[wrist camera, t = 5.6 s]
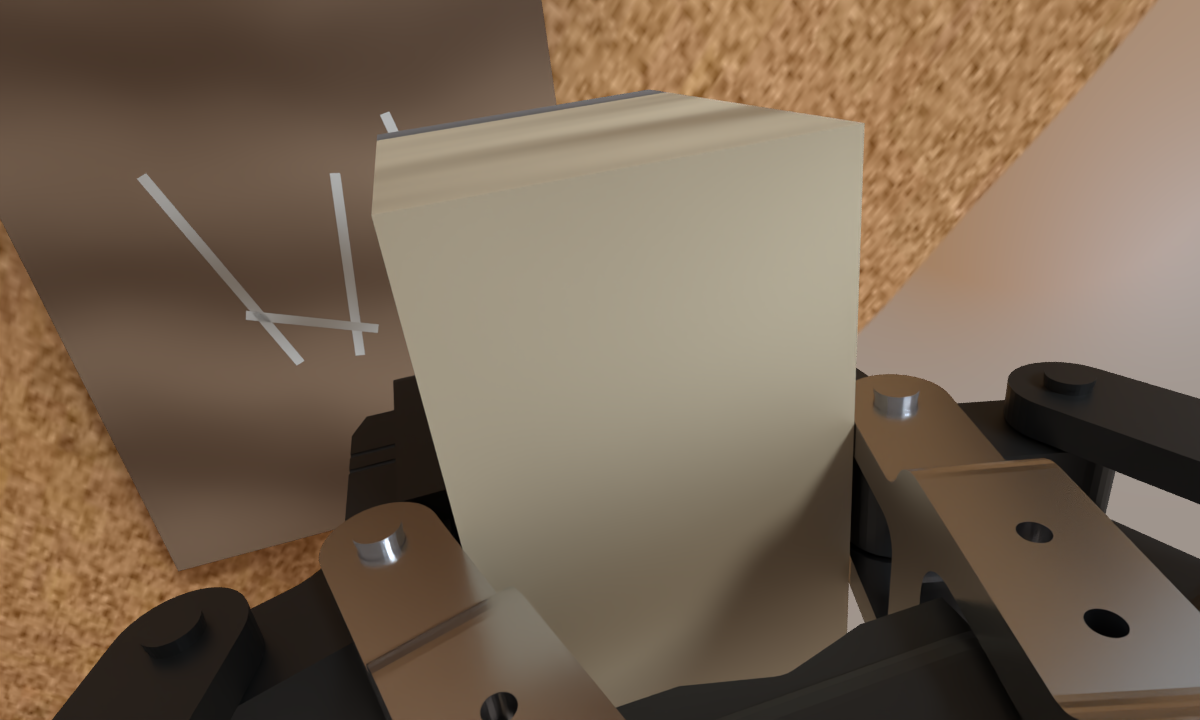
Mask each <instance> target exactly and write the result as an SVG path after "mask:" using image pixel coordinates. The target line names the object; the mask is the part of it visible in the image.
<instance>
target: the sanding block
mask: <svg viewBox="0 0 1200 720" xmlns="http://www.w3.org/2000/svg"><path fill="white" fill-rule="evenodd" d="M863 149H864V123H861V122H854V121H848V120H841V119H835V118H828V117H822V116H816V115H809V114H803V113H796V112H790V111H783V110H777V109H771V108H764V107H758V106H751V105H745V104H738V103H732V102H726V101H719V100H713V99H706V98H700V97H693V96H687V95H681V94H674V93H668V92H661V91H655V90H644V91H638V92H632V93H626V94H620V95H614V96H608V97H602V98H596V99H590V100H584V101H578V102H572V103H566V104H560V105H554V106H548V107H542V108H536V109H530V110H524V111H518V112H511V113H505V114H499V115H493V116H487V117H481V118H475V119H469V120H463V121H457V122H451V123H445V124H439V125H433V126H427V127H421V128H415V129H409V130H403V131H397V132H391V133H385V134H379V135H377V144H376V158H375V172H374V186H373V200H372V214H371V216H372V219H373V223H374V227H375V230H376V234H377V238H378V241H379V245H380V249H381V252H382V256H383V260H384V263H385V267H386V271H387V274H388V278H389V282H390V285H391V289H392V293H393V296H394V300H395V304H396V307H397V311H398V315H399V318H400V322H401V326H402V329H403V333H404V336H405V340H406V344H407V347H408V351H409V355H410V358H411V362H412V366H413V369H414V373H415V377H416V380H417V384H418V388H419V391H420V395H421V399H422V402H423V406H424V410H425V413H426V417H427V421H428V424H429V428H430V432H431V435H432V439H433V443H434V446H435V450H436V454H437V457H438V461H439V465H440V468H441V472H442V476H443V479H444V483H445V487H446V490H447V494H448V498H449V501H450V505H451V509H452V512H453V516H454V520H455V523H456V527H457V531H458V534H459V538H460V542H461V545H462V549H463V550H464V551H465V553H466V554H467V555H468V557H469V558H470V559H471V561H472V562H473V563H474V564H475V566H476V567H477V568H478V570H479V571H480V572H481V573H482V575H483V576H484V577H485V579H486V580H487V581H488V583H489V584H490V585H491V586H492V588H493V589H494V590H495V592H496V593H498V592H499V591H501V590H503V589H505V588H507V587H509V586H513V587H515V588H516V589H517V590H518V591H520V592H521V593H522V595H523V596H524V597H525V598H526V599H527V600H528V602H529V603H530V604H531V605H532V606H533V608H534V609H535V610H536V611H537V613H538V614H539V615H540V616H541V617H542V619H543V620H544V621H545V622H546V624H547V625H548V626H549V627H550V628H551V630H552V631H553V632H554V633H555V634H556V636H557V637H558V638H559V639H560V641H561V642H562V643H563V644H564V645H565V647H566V648H567V649H568V650H569V652H570V653H571V654H572V655H573V656H574V658H575V659H576V660H577V661H578V662H579V664H580V665H581V666H582V667H583V669H584V670H585V671H586V672H587V673H588V675H589V676H590V677H591V678H592V680H593V681H594V682H595V683H596V684H597V686H598V687H599V688H600V689H601V690H602V692H603V693H604V694H605V695H606V697H607V698H608V699H609V700H610V701H611V703H612V704H613V705H614V706H615V708H616V707H619V706H622V705H625V704H628V703H631V702H634V701H636V700H639V699H642V698H645V697H648V696H651V695H654V694H657V693H660V692H663V691H666V690H669V689H672V688H675V687H678V686H686V685H696V684H706V683H716V682H726V681H736V680H746V679H756V678H766V677H775V676H781V675H784V674H787V673H789V672H791V671H792V670H794V669H796V668H797V667H798V666H800V665H801V664H803V663H804V662H806V661H807V660H809V659H810V658H812V657H813V656H815V655H816V654H818V653H819V652H821V651H822V650H823V649H825V648H826V647H828V646H829V645H831V644H832V643H834V642H835V641H837V640H838V639H840V638H841V637H843V636H844V635H845V634H847V617H848V615H847V614H848V588H849V559H850V530H851V500H852V471H853V442H854V413H855V383H856V354H857V325H858V295H859V266H860V237H861V208H862V178H863Z"/></svg>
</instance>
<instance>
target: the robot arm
mask: <svg viewBox="0 0 1200 720" xmlns="http://www.w3.org/2000/svg"><path fill="white" fill-rule="evenodd" d="M393 393H394V410H392V411H388V412H384V413H380V414H376V415H371V416H367V417H366V418H365V419H364V421H363V422H362V423H361V425H360V426H359V427H358V428H357V430H356V431H355V432H354V434H353V435H352V440H351V452H350V455H351V458H350V464H349V472H350V474H349V477H348V489H347V501H346V514H345V522H343V523H342V524H341V525H339V526H338V527H337V528H336V529H335V530H334V531H333V532H332V533H331V534H330V535H329V536H328V537H327V539H326V540H325V542H324V543H323V545H322V547H321V550H320V553H319V562H320V566H321V569H320V570H319V571H318V572H316V573H315V574H314V575H313V576H311V577H310V578H308V579H307V580H305V581H304V582H302V583H301V584H299V585H297V586H295V587H294V588H292V589H290V590H288V591H286V592H284V593H282V594H280V595H278V596H276V597H274V598H272V599H270V600H268V601H266V602H264V603H262V604H260V605H258V606H256V607H254V608H252V609H250V606H249V604H248V602H247V600H246V599H245V597H244V596H243V595H242V594H241V593H239V592H238V591H236V590H233V589H230V588H222V587H214V588H205V589H199V590H195V591H192V592H188V593H185V594H182V595H180V596H177V597H175V598H172V599H170V600H168V601H166V602H164V603H162V604H160V605H158V606H157V607H155V608H153V609H151V610H150V611H148V612H147V613H145V614H144V615H142V616H141V617H139V618H138V619H137V620H136V621H134V622H133V623H132V624H131V625H129V626H128V627H127V628H126V629H125V630H124V631H123V632H122V633H121V634H120V635H119V636H118V637H117V638H116V640H115V641H114V642H113V643H112V644H111V646H110V647H109V648H108V649H107V651H106V652H105V653H104V654H103V656H102V657H101V658H100V660H99V661H98V662H97V663H96V665H95V666H94V667H93V668H92V670H91V671H90V672H89V674H88V675H87V676H86V677H85V679H84V680H83V681H82V682H81V684H80V685H79V686H78V688H77V689H76V690H75V691H74V693H73V694H72V695H71V696H70V698H69V699H68V700H67V702H66V703H65V704H64V705H63V707H62V708H61V709H60V710H59V712H58V713H57V714H56V715H55V717H54V718H53V719H52V720H1200V559H1199V558H1196V557H1194V556H1192V555H1190V554H1187V553H1185V552H1183V551H1181V550H1178V549H1176V548H1173V547H1172V546H1169V545H1167V544H1165V543H1163V542H1160V541H1158V540H1156V539H1154V538H1151V537H1149V536H1147V535H1145V534H1142V533H1140V532H1138V531H1136V530H1133V529H1131V528H1129V527H1126V526H1124V525H1122V524H1120V523H1118V522H1115V521H1113V520H1111V519H1109V518H1108V516H1107V515H1106V509H1107V505H1108V501H1109V496H1110V492H1111V488H1112V483H1113V479H1114V475H1115V471H1117V472H1119V473H1122V474H1124V475H1127V476H1129V477H1132V478H1134V479H1137V480H1139V481H1142V482H1145V483H1147V484H1149V485H1152V486H1155V487H1157V488H1160V489H1162V490H1165V491H1167V492H1170V493H1172V494H1175V495H1177V496H1180V497H1183V498H1185V499H1188V500H1190V501H1193V502H1195V503H1198V504H1200V399H1198V398H1195V397H1192V396H1188V395H1185V394H1181V393H1178V392H1175V391H1171V390H1168V389H1165V388H1161V387H1158V386H1154V385H1150V384H1148V383H1144V382H1141V381H1137V380H1134V379H1131V378H1127V377H1124V376H1121V375H1117V374H1114V373H1110V372H1107V371H1103V370H1100V369H1097V368H1093V367H1089V366H1085V365H1079V364H1073V363H1064V362H1042V363H1034V364H1028V365H1025V366H1021V367H1020V368H1017V369H1015V370H1014V371H1013V372H1011V374H1010V375H1009V378H1008V383H1007V390H1006V397H1005V400H1000V401H987V402H971V403H956V402H955V401H954V400H953V398H952V397H951V396H950V395H949V394H948V393H947V392H946V391H945V390H944V389H943V388H941V387H940V386H938V385H936V384H934V383H932V382H930V381H927V380H924V379H921V378H917V377H912V376H907V375H897V374H896V375H895V374H885V375H874V376H867V375H866V374H864V373H863V372H861V371H860V370H859V369H857V368H856V383H855V413H854V442H853V471H852V500H851V530H850V559H849V584H850V586H851V589H852V591H853V594H854V596H855V599H856V602H857V604H858V606H859V609H860V612H861V614H862V617H863V619H864V622H865V623H863V624H860V625H859V626H857V627H856V628H854V629H853V630H851V631H850V632H848V633H847V634H845V635H844V636H843V637H841V638H840V639H838V640H837V641H835V642H834V643H832V644H831V645H829V646H828V647H826V648H825V649H823V650H822V651H821V652H819V653H818V654H816V655H815V656H813V657H812V658H810V659H809V660H807V661H806V662H804V663H803V664H801V665H800V666H798V667H797V668H796V669H794V670H792V671H791V672H789V673H787V674H784V675H781V676H775V677H766V678H756V679H746V680H736V681H726V682H716V683H706V684H696V685H686V686H678V687H675V688H672V689H669V690H666V691H663V692H660V693H657V694H654V695H651V696H648V697H645V698H642V699H639V700H636V701H634V702H631V703H628V704H625V705H622V706H619V707H616V708H615V706H614V705H613V704H612V703H611V701H610V700H609V699H608V698H607V697H606V695H605V694H604V693H603V692H602V690H601V689H600V688H599V687H598V686H597V684H596V683H595V682H594V681H593V680H592V678H591V677H590V676H589V675H588V673H587V672H586V671H585V670H584V669H583V667H582V666H581V665H580V664H579V662H578V661H577V660H576V659H575V658H574V656H573V655H572V654H571V653H570V652H569V650H568V649H567V648H566V647H565V645H564V644H563V643H562V642H561V641H560V639H559V638H558V637H557V636H556V634H555V633H554V632H553V631H552V630H551V628H550V627H549V626H548V625H547V624H546V622H545V621H544V620H543V619H542V617H541V616H540V615H539V614H538V613H537V611H536V610H535V609H534V608H533V606H532V605H531V604H530V603H529V602H528V600H527V599H526V598H525V597H524V596H523V595H522V593H521V592H520V591H518V590H517V589H516V588H515V587H513V586H509V587H507V588H505V589H503V590H501V591H499V592H498V593H496V592H495V590H494V589H493V588H492V586H491V585H490V584H489V583H488V581H487V580H486V579H485V577H484V576H483V575H482V573H481V572H480V571H479V570H478V568H477V567H476V566H475V564H474V563H473V562H472V561H471V559H470V558H469V557H468V555H467V554H466V553H465V551H464V550H463V549H462V545H461V542H460V538H459V534H458V531H457V527H456V523H455V520H454V516H453V512H452V509H451V505H450V501H449V498H448V494H447V490H446V487H445V483H444V479H443V476H442V472H441V468H440V465H439V461H438V457H437V454H436V450H435V446H434V443H433V439H432V435H431V432H430V428H429V424H428V421H427V417H426V413H425V410H424V406H423V402H422V399H421V395H420V391H419V388H418V384H417V380H416V377H415V375H413V376H409V377H405V378H400V379H396V380H393Z"/></svg>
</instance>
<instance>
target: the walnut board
mask: <svg viewBox="0 0 1200 720" xmlns="http://www.w3.org/2000/svg"><path fill="white" fill-rule="evenodd" d="M554 105H556V98H555V91H554V85H553V78H552V71H551V64H550V57H549V50H548V43H547V36H546V29H545V22H544V16H543V9H542V2H541V0H0V219H1V221H2V223H3V225H4V227H5V229H6V231H7V233H8V235H9V237H10V239H11V241H12V243H13V245H14V247H15V249H16V251H17V253H18V255H19V257H20V259H21V261H22V263H23V264H24V266H25V268H26V270H27V272H28V274H29V276H30V278H31V280H32V282H33V284H34V286H35V288H36V290H37V292H38V294H39V296H40V298H41V300H42V302H43V304H44V306H45V308H46V310H47V312H48V314H49V316H50V318H51V320H52V322H53V324H54V326H55V328H56V330H57V332H58V334H59V336H60V338H61V340H62V342H63V344H64V346H65V348H66V350H67V352H68V354H69V356H70V358H71V360H72V362H73V363H74V365H75V367H76V369H77V371H78V373H79V375H80V377H81V379H82V381H83V383H84V385H85V387H86V389H87V391H88V393H89V395H90V397H91V399H92V401H93V403H94V405H95V407H96V409H97V411H98V413H99V415H100V417H101V419H102V421H103V423H104V425H105V427H106V429H107V431H108V433H109V435H110V437H111V439H112V441H113V443H114V445H115V447H116V449H117V451H118V453H119V455H120V457H121V459H122V461H123V463H124V464H125V466H126V468H127V470H128V472H129V474H130V476H131V478H132V480H133V482H134V484H135V486H136V488H137V490H138V492H139V494H140V496H141V498H142V500H143V502H144V504H145V506H146V508H147V510H148V512H149V514H150V516H151V518H152V520H153V522H154V524H155V526H156V528H157V530H158V532H159V534H160V536H161V538H162V540H163V542H164V544H165V546H166V548H167V550H168V552H169V554H170V556H171V558H172V560H173V562H174V564H175V565H176V567H177V569H178V571H181V570H185V569H188V568H192V567H196V566H200V565H203V564H207V563H211V562H215V561H218V560H222V559H226V558H230V557H233V556H237V555H241V554H245V553H248V552H252V551H256V550H260V549H263V548H267V547H271V546H275V545H278V544H282V543H286V542H290V541H293V540H297V539H301V538H305V537H308V536H312V535H316V534H320V533H323V532H327V531H331V530H335V529H336V528H337V527H338V526H339V525H341V524H342V523H343V522H345V514H346V501H347V489H348V477H349V474H350V472H349V464H350V458H351V455H350V452H351V440H352V435H353V434H354V432H355V431H356V430H357V428H358V427H359V426H360V425H361V423H362V422H363V421H364V419H365V418H366V417H367V416H371V415H376V414H380V413H384V412H388V411H392V410H394V393H393V380H396V379H400V378H405V377H409V376H413V375H415V373H414V369H413V366H412V362H411V358H410V355H409V351H408V347H407V344H406V340H405V336H404V333H403V329H402V326H401V322H400V318H399V315H398V311H397V307H396V304H395V300H394V296H393V293H392V289H391V285H390V282H389V278H388V274H387V271H386V267H385V263H384V260H383V256H382V252H381V249H380V245H379V241H378V238H377V234H376V230H375V227H374V223H373V219H372V216H371V214H372V200H373V186H374V172H375V158H376V144H377V135H379V134H385V133H391V132H397V131H403V130H409V129H415V128H421V127H427V126H433V125H439V124H445V123H451V122H457V121H463V120H469V119H475V118H481V117H487V116H493V115H499V114H505V113H511V112H518V111H524V110H530V109H536V108H542V107H548V106H554Z"/></svg>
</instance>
